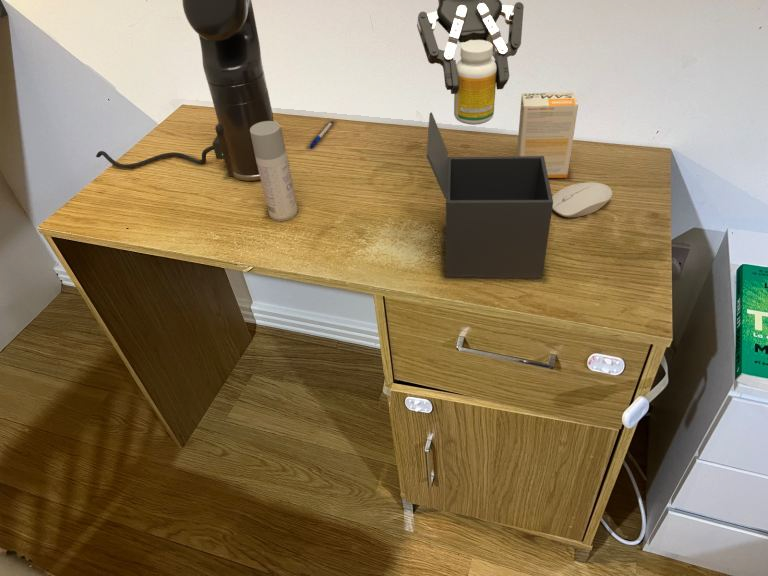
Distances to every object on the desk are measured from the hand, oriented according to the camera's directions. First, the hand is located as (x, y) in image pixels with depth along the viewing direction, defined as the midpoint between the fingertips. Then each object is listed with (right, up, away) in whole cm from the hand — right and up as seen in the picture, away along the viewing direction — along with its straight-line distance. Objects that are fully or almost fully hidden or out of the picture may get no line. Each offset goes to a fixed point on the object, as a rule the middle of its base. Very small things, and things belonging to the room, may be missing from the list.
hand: (478, 88), depth 76 cm
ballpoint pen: (-24, +4, +39) cm, 46 cm away
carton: (+3, -21, +9) cm, 23 cm away
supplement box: (+14, -6, +24) cm, 29 cm away
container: (-28, -14, +20) cm, 37 cm away
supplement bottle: (0, -2, +5) cm, 5 cm away
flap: (-5, -9, -1) cm, 10 cm away
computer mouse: (+18, -13, +16) cm, 28 cm away
